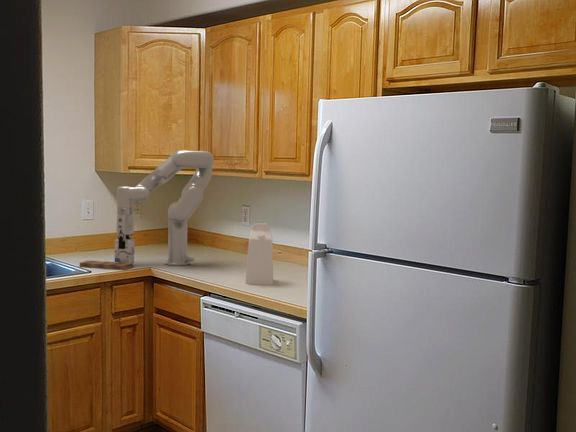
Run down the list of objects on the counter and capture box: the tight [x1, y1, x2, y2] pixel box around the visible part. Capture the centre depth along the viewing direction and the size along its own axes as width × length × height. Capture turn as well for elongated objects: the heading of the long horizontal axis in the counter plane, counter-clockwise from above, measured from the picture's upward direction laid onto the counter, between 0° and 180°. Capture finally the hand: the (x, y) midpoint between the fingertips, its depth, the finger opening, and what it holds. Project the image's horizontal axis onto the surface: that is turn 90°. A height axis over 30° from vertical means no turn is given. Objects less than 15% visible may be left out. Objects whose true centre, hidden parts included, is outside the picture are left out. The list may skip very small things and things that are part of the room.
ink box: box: [114, 238, 136, 264], centre depth 298 cm, size 9×5×12 cm, turn 73°
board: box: [79, 259, 134, 271], centre depth 293 cm, size 24×8×2 cm, turn 78°
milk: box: [245, 222, 274, 286], centre depth 267 cm, size 12×12×26 cm
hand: (124, 247), depth 298 cm, fingers closed on ink box, 5 cm apart
